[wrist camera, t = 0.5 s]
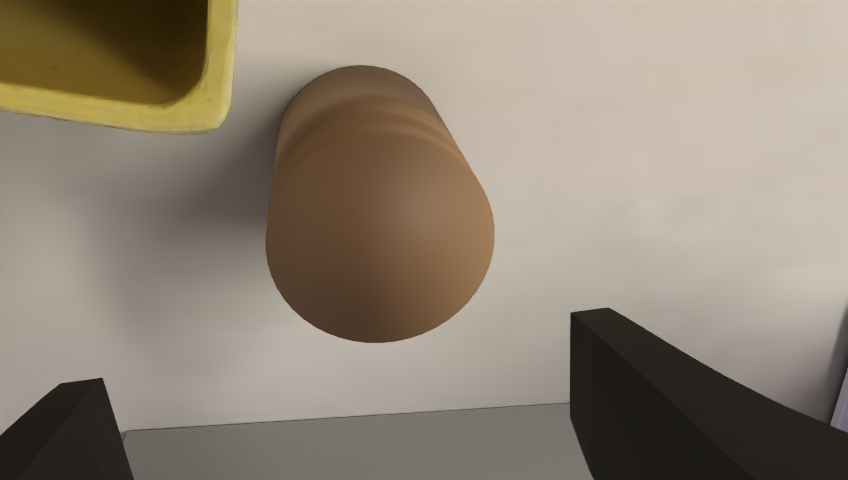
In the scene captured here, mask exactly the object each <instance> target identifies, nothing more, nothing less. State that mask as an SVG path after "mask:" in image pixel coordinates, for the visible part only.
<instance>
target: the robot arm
mask: <svg viewBox="0 0 848 480" xmlns="http://www.w3.org/2000/svg"><path fill="white" fill-rule="evenodd" d="M570 419H571V422H572V425H573V428H574V431H575V433H576V436H577V439H578V442H579V445H580V447H581V450H582V453H583V455H584V458H585V461H586V463H587V466H588V468H589V471H590V473H591V475H592V477H593V479H594V480H848V369H847V372H846V375H845V379H844V382H843V385H842V388H841V392H840V395H839V398H838V401H837V404H836V408H835V411H834V414H833V417H832V421H831V424H830V425H828V424H826V423H823V422H821V421H819V420H816V419H814V418H811V417H809V416H807V415H804V414H802V413H800V412H797V411H795V410H793V409H790V408H788V407H786V406H784V405H782V404H780V403H777V402H775V401H773V400H771V399H769V398H767V397H765V396H763V395H761V394H759V393H757V392H755V391H753V390H751V389H749V388H747V387H745V386H743V385H741V384H739V383H738V382H736V381H734V380H732V379H730V378H728V377H726V376H724V375H723V374H721V373H719V372H717V371H715V370H713V369H712V368H710V367H708V366H706V365H705V364H703V363H701V362H699V361H698V360H696V359H694V358H692V357H691V356H689V355H687V354H686V353H684V352H682V351H681V350H679V349H677V348H676V347H674V346H672V345H671V344H669V343H667V342H666V341H664V340H662V339H661V338H659V337H657V336H656V335H654V334H653V333H651V332H649V331H648V330H646V329H644V328H643V327H641V326H639V325H638V324H636V323H634V322H633V321H631V320H630V319H628V318H626V317H624V316H623V315H621V314H619V313H618V312H616V311H614V310H612V309H610V308H600V309H593V310H586V311H579V312H572V313H571V325H570ZM0 480H134V478H133V475H132V471H131V468H130V465H129V462H128V458H127V455H126V452H125V449H124V446H123V442H122V439H121V436H120V433H119V429H118V426H117V423H116V420H115V416H114V413H113V410H112V407H111V404H110V400H109V397H108V394H107V391H106V387H105V384H104V381H103V378H97V379H90V380H83V381H75V382H68V383H61V384H59V385H58V386H57V387H55V388H54V389H53V390H52V391H50V392H49V393H48V394H47V395H45V396H44V397H43V398H42V399H41V400H40V401H38V402H37V403H36V404H35V405H34V406H33V407H32V408H30V409H29V410H28V411H27V412H26V413H25V414H24V415H23V416H21V417H20V418H19V419H18V420H17V421H16V422H15V423H14V424H13V425H11V426H10V427H9V428H8V429H7V430H6V431H5V432H4V433H2V434H1V435H0Z"/></svg>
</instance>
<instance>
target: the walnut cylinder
mask: <svg viewBox="0 0 848 480" xmlns="http://www.w3.org/2000/svg"><path fill="white" fill-rule="evenodd" d="M493 247H494V222H493V215H492V211H491V208H490V204H489V201H488V199H487V197H486V195H485V192H484V190H483V188H482V187H481V185H480V183H479V181H478V180H477V178H476V176H475V175H474V173H473V171H472V170H471V168H470V166H469V164H468V163H467V161H466V159H465V158H464V156H463V154H462V153H461V151H460V149H459V148H458V146H457V144H456V142H455V141H454V139H453V137H452V136H451V134H450V132H449V131H448V129H447V127H446V125H445V124H444V122H443V120H442V119H441V117H440V115H439V114H438V112H437V110H436V109H435V107H434V105H433V104H432V102H431V101H430V99H429V98H428V97H427V95H426V94H425V93H424V92H423V91H422V90H421V89H420V88H419V87H418V86H417V85H416V84H414V83H413V82H412V81H410V80H409V79H407V78H406V77H404V76H402V75H400V74H398V73H396V72H394V71H391V70H388V69H385V68H380V67H375V66H365V65H359V66H348V67H343V68H338V69H335V70H332V71H330V72H327V73H325V74H323V75H321V76H319V77H317V78H316V79H314V80H313V81H311V82H310V83H308V84H307V85H306V86H305V87H304V88H303V89H302V90H300V91H299V93H298V94H297V95H296V96H295V97H294V99H293V100H292V101H291V103H290V104H289V106H288V108H287V109H286V111H285V114H284V116H283V118H282V121H281V124H280V127H279V132H278V138H277V146H276V154H275V163H274V171H273V179H272V188H271V196H270V205H269V213H268V221H267V230H266V254H267V262H268V265H269V269H270V272H271V276H272V278H273V280H274V282H275V284H276V287H277V289H278V290H279V292H280V293H281V295H282V296H283V298H284V300H285V301H286V302H287V303H288V304H289V305H290V307H291V308H292V309H293V310H294V311H295V312H296V313H297V314H299V315H300V316H301V317H302V318H303V319H304V320H306V321H307V322H309V323H310V324H312V325H313V326H315V327H316V328H318V329H320V330H322V331H324V332H326V333H329V334H331V335H334V336H337V337H339V338H343V339H347V340H352V341H358V342H366V343H384V342H394V341H399V340H404V339H408V338H412V337H415V336H418V335H421V334H423V333H425V332H428V331H430V330H432V329H434V328H436V327H438V326H439V325H441V324H442V323H444V322H446V321H447V320H449V319H450V318H451V317H452V316H454V315H455V314H456V313H457V312H459V311H460V310H461V309H462V308H463V307H464V306H465V305H466V304H467V303H468V301H469V300H470V299H471V298H472V296H473V295H474V294H475V293H476V291H477V290H478V288H479V286H480V285H481V283H482V281H483V279H484V277H485V275H486V273H487V270H488V268H489V265H490V261H491V258H492V254H493Z"/></svg>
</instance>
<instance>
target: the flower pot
mask: <svg viewBox="0 0 848 480" xmlns="http://www.w3.org/2000/svg"><path fill="white" fill-rule="evenodd" d="M237 15H238V0H0V110H2V111H8V112H13V113H19V114H26V115H32V116H41V117H48V118H53V119H57V120H65V121H73V122H79V123H85V124H92V125H99V126H106V127H112V128H119V129H125V130H131V131H139V132H149V133H161V134H175V135H195V134H203V133H207V132H211V131H213V130H215V129H218V128H219V127H220V125H221V124H222V123H223V122H224V121H225V119H226V117H227V114H228V111H229V109H230V105H231V99H232V84H233V73H234V59H235V45H236V33H237Z"/></svg>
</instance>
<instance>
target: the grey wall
mask: <svg viewBox="0 0 848 480" xmlns="http://www.w3.org/2000/svg"><path fill="white" fill-rule="evenodd" d="M123 446H124V449H125V452H126V455H127V458H128V462H129V465H130V468H131V471H132V475H133V478H134V480H594V479H593V477H592V475H591V473H590V471H589V468H588V466H587V463H586V461H585V458H584V455H583V453H582V450H581V447H580V445H579V442H578V439H577V436H576V433H575V431H574V428H573V425H572V422H571V419H570V403H563V404H547V405H531V406H516V407H500V408H484V409H469V410H453V411H437V412H422V413H406V414H390V415H375V416H359V417H343V418H328V419H312V420H296V421H281V422H265V423H249V424H233V425H218V426H202V427H186V428H171V429H155V430H139V431H127V434H126V437H125V440H124V443H123Z"/></svg>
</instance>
